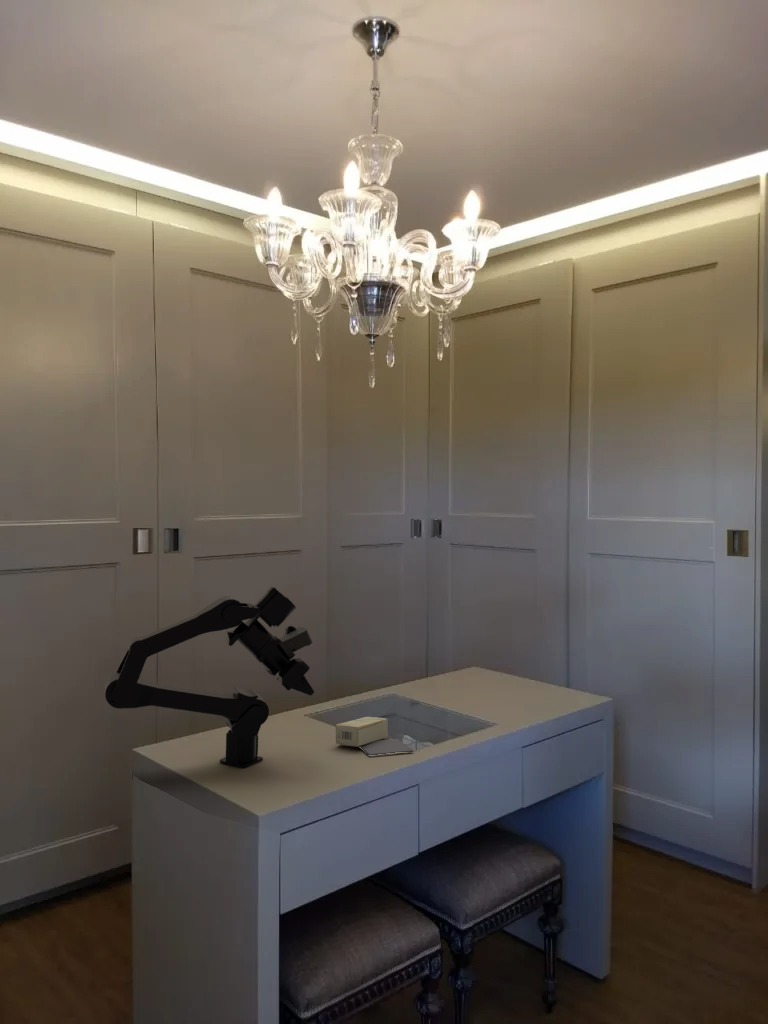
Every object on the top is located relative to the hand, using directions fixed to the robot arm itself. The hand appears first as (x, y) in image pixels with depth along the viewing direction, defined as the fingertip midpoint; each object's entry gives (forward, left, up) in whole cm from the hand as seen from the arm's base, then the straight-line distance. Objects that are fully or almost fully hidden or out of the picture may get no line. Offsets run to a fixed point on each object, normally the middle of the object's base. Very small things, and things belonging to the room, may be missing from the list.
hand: (312, 693), depth 163 cm
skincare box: (+8, -4, -10) cm, 13 cm away
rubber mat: (+13, -11, -13) cm, 21 cm away
